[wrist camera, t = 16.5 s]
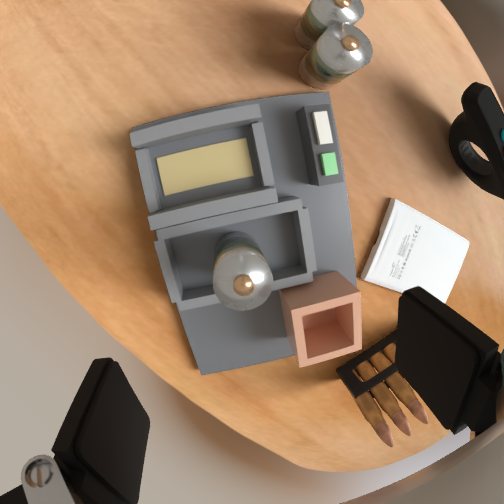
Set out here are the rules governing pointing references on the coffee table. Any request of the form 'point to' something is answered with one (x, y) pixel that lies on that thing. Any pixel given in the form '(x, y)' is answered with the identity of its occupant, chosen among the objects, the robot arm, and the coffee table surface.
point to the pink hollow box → (322, 318)
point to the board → (245, 213)
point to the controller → (480, 139)
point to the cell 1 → (241, 272)
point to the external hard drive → (415, 253)
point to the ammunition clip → (381, 388)
